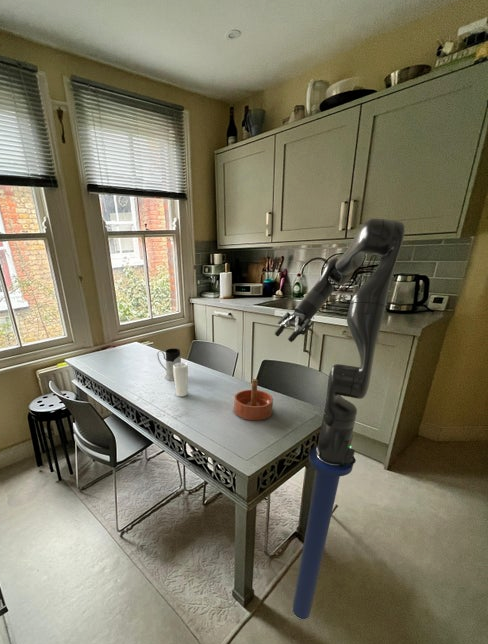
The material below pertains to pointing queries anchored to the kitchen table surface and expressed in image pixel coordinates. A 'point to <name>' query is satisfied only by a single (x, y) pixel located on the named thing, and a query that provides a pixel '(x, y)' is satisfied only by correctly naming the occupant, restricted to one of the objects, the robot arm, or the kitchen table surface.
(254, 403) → the wooden knob stand
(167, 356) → the pitcher
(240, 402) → the bowl
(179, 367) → the drinking glass
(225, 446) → the kitchen table surface
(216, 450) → the kitchen table surface
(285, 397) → the kitchen table surface
